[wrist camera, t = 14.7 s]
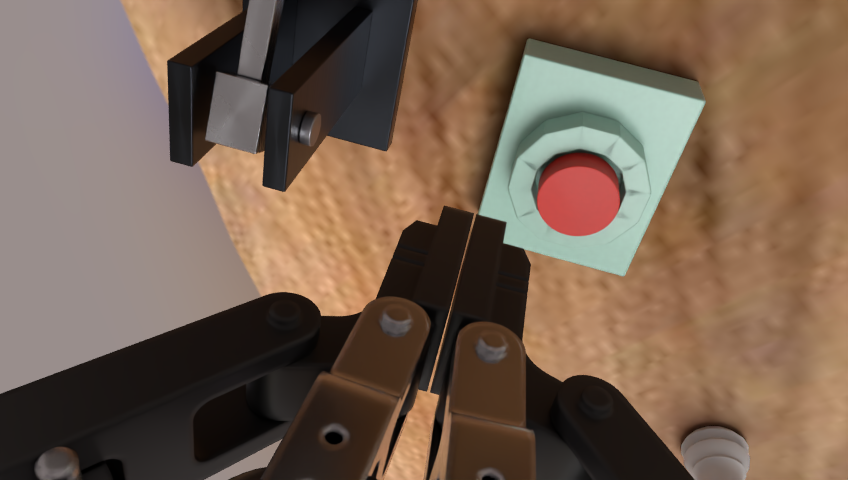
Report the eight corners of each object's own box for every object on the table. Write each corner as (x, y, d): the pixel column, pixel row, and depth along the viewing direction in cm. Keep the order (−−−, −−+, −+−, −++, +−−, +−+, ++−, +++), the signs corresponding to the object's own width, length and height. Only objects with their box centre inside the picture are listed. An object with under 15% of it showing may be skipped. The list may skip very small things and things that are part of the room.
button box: (527, 37, 35) (521, 66, 32) (699, 81, 35) (712, 116, 31) (478, 211, 42) (467, 252, 38) (622, 251, 41) (625, 296, 37)
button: (551, 142, 34) (550, 156, 32) (630, 164, 34) (632, 178, 32) (529, 209, 36) (527, 224, 35) (603, 229, 36) (603, 245, 35)
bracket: (255, -95, 34) (110, -44, 24) (427, -52, 34) (356, 20, 23) (246, 104, 41) (129, 214, 30) (391, 143, 40) (322, 268, 30)
